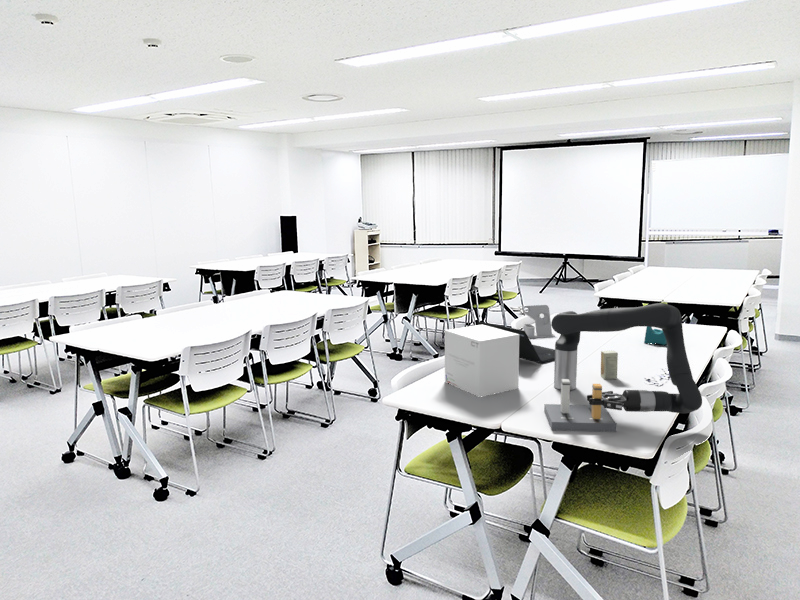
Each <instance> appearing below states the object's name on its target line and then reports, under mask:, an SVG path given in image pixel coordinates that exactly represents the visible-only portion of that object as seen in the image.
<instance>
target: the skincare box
mask: <svg viewBox="0 0 800 600" xmlns="http://www.w3.org/2000/svg"><path fill="white" fill-rule="evenodd" d="M600 352H601V353H600V378H602V379H603V380H611V379H618V360H619V359H618V357H619V356H618V355H619V354H618V352H617V351H616V350H601V351H600Z"/></svg>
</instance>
